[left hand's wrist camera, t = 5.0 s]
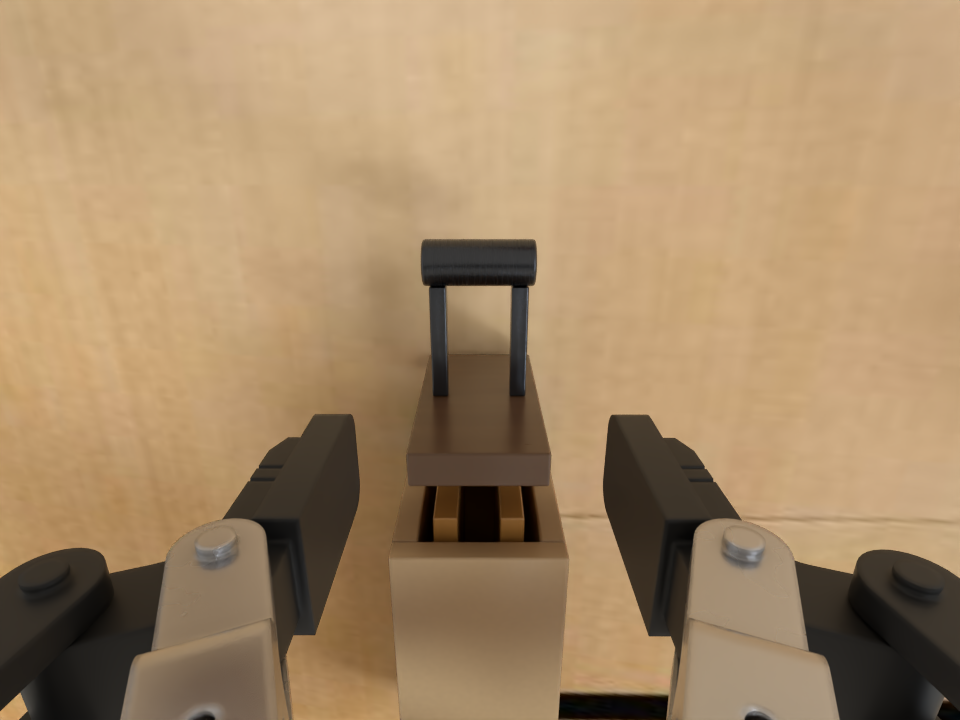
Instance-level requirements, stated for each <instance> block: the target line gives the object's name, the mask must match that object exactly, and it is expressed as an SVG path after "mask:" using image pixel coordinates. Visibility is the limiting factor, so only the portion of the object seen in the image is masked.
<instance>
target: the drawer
mask: <svg viewBox="0 0 960 720" xmlns="http://www.w3.org/2000/svg"><path fill="white" fill-rule="evenodd" d="M536 272H537V248H536V242H535V240H533V239H425V240H423V242H422V246H421V275H422V282H423V284H424V285H425V286H430V287H429V303H430V333H431V355H430V357H429V361H428V365H427V369H426V374H425V378H424V382H423V386H422V391H421V395H420V399H419V403H418V407H417V412H416V416H415V420H414V424H413V429H412V433H411V437H410V441H409V445H408V450H407V454H406V460H407V479H408V485H409V486H437V492H436V500H435V508H434V515H433V530H434V542H524V520H525V519H524V510H523V502H522V493H521V486H549V484H550V470H551V452H550V447H549V443H548V438H547V434H546V430H545V425H544V421H543V416H542V412H541V407H540V403H539V398H538V394H537V390H536V385H535V381H534V376H533V372H532V367H531V363H530V359H529V355H527V332H528V301H529V287H528V286H533V285H534V284H535V281H536ZM447 286H511V314H510V355H448V314H447Z"/></svg>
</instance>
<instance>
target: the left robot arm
mask: <svg viewBox="0 0 960 720" xmlns="http://www.w3.org/2000/svg"><path fill="white" fill-rule="evenodd" d="M359 492H360V479H359V468H358V456H357V445H356V434H355V424H354V419H353V416H352V415H351V414H315V415H314V416H313V418H312V419H311V421H310V423H309V424H308V426H307V428H306V429H305V431H304V432H303V434H302V436H301V437H288V438H287V439H285V440H284V441H282V442H281V443H279V444H278V445H277V446H275V447H274V448H272V449H271V450H269V452H268V453H267V455H266V456H265V457H264V459H263V460H262V462H261V463H260V465H259V469H256V471H255V472H254V474H253V475H252V477H251V478H250V481H248V482H247V484H246V485H245V487H244V488H243V490H242V491H241V493H240V494H239V496H238V497H237V499H236V500H235V502H234V503H233V505H232V506H231V507H230V509H229V510H228V512H227V513H226V515H225V516H224V518H223V519H222V520H218V521H214V522H210V523H207V524H205V525H202V526H200V527H198V528H195V529H193V530H192V531H190V532H188V533H187V534H185V535H184V536H182V537H181V538H180V539H179V540H178V541H177V542H175V543H174V545H173V546H172V547H171V548H170V550H169V552H168V554H167V557H166V561H164V562H161V563H157V564H153V565H148V566H143V567H138V568H134V569H129V570H124V571H120V572H115V573H110V574H109V571H108V568H107V564H106V561H105V559H104V556H103V555H102V554H101V553H100V552H98V551H96V550H92V549H88V548H71V549H64V550H60V551H55V552H52V553H48V554H45V555H42V556H40V557H37V558H34V559H32V560H30V561H28V562H26V563H24V564H22V565H20V566H18V567H17V568H15V569H13V570H12V571H10V572H9V573H7V574H6V575H4V576H3V577H2V578H0V711H1V710H2V709H3V708H4V707H5V706H6V705H7V704H8V703H9V702H10V701H11V700H12V699H14V698H15V697H16V696H17V695H18V694H19V693H21V695H22V698H23V700H24V703H25V705H26V707H27V710H28V711H27V712H26V713H25V714H24V715H23V716H22V717H21V718H20V719H19V720H294V719H293V710H292V700H291V691H290V681H289V672H288V664H287V658H286V653H287V650H288V648H289V645H290V642H291V640H292V637H293V635H315V634H316V631H317V628H318V625H319V622H320V619H321V616H322V613H323V610H324V607H325V604H326V601H327V598H328V595H329V592H330V589H331V586H332V583H333V580H334V577H335V574H336V571H337V568H338V565H339V562H340V559H341V556H342V553H343V550H344V547H345V544H346V541H347V538H348V535H349V532H350V529H351V526H352V523H353V520H354V517H355V514H356V511H357V507H358V502H359ZM603 495H604V503H605V508H606V512H607V515H608V518H609V521H610V523H611V526H612V529H613V532H614V535H615V538H616V541H617V544H618V547H619V550H620V553H621V556H622V559H623V562H624V565H625V568H626V570H627V573H628V576H629V579H630V582H631V585H632V588H633V591H634V594H635V597H636V600H637V603H638V606H639V609H640V612H641V614H642V617H643V620H644V623H645V626H646V629H647V632H648V635H649V636H671V638H672V640H673V643H674V646H675V652H674V658H673V664H672V672H671V681H670V691H669V700H668V710H667V719H666V720H941V719H940V718H939V717H938V716H937V714H938V711H939V709H940V707H941V704H942V702H943V699H944V697H945V698H947V699H948V700H949V701H950V702H951V703H952V704H953V705H954V706H955V707H956V708H957V709H958V710H959V711H960V578H958V577H957V576H956V575H954V574H953V573H951V572H950V571H948V570H946V569H944V568H943V567H941V566H939V565H937V564H935V563H933V562H931V561H929V560H926V559H923V558H921V557H918V556H915V555H912V554H908V553H904V552H900V551H893V550H873V551H869V552H866V553H864V554H862V555H861V556H860V557H859V558H858V561H857V563H856V567H855V570H854V573H853V574H849V573H845V572H840V571H835V570H831V569H826V568H821V567H816V566H812V565H808V564H804V563H800V562H797V561H794V557H793V554H792V552H791V550H790V548H789V547H788V546H787V545H786V543H785V542H783V541H782V540H781V539H780V538H779V537H778V536H776V535H775V534H773V533H772V532H770V531H768V530H767V529H765V528H762V527H760V526H758V525H755V524H753V523H750V522H746V521H742V520H741V518H740V517H739V515H738V514H737V513H736V511H735V510H734V508H733V507H732V505H731V504H730V502H729V501H728V500H727V498H726V497H725V495H724V494H723V492H722V491H721V489H720V488H719V486H718V485H717V484H716V482H713V478H712V476H711V475H710V473H709V472H708V470H707V469H705V466H704V465H703V463H702V462H701V460H700V459H699V457H698V456H697V455H696V453H695V452H694V451H693V450H692V449H690V448H689V447H687V446H686V445H684V444H683V443H682V442H680V441H679V440H677V439H676V438H663V437H662V436H661V434H660V432H659V431H658V429H657V428H656V426H655V424H654V423H653V421H652V419H651V418H650V416H649V415H611V417H610V420H609V424H608V434H607V444H606V455H605V466H604V477H603Z"/></svg>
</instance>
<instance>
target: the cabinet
mask: <svg viewBox="0 0 960 720" xmlns="http://www.w3.org/2000/svg"><path fill="white" fill-rule="evenodd" d="M436 492H437V486H409V485H408V479H407V476H406V481H405V485H404V490H403V495H402V499H401V504H400V508H399V513H398V517H397V522H396V526H395V531H394V535H393V540H392V545H391V549H390V554H389V558H388V561H389V575H390V588H391V602H392V616H393V630H394V643H395V657H396V671H397V685H398V698H399V712H400V720H558V712H559V697H560V683H561V669H562V655H563V640H564V626H565V612H566V598H567V583H568V569H569V556H568V551H567V546H566V543H565V537H564V533H563V528H562V523H561V519H560V514H559V509H558V504H557V500H556V495H555V490H554V486H553V481H552V476H551V471H550V484H549V486H521V493H522V502H523V510H524V519H525V520H524V542H434V530H433V515H434V508H435V500H436Z"/></svg>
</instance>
